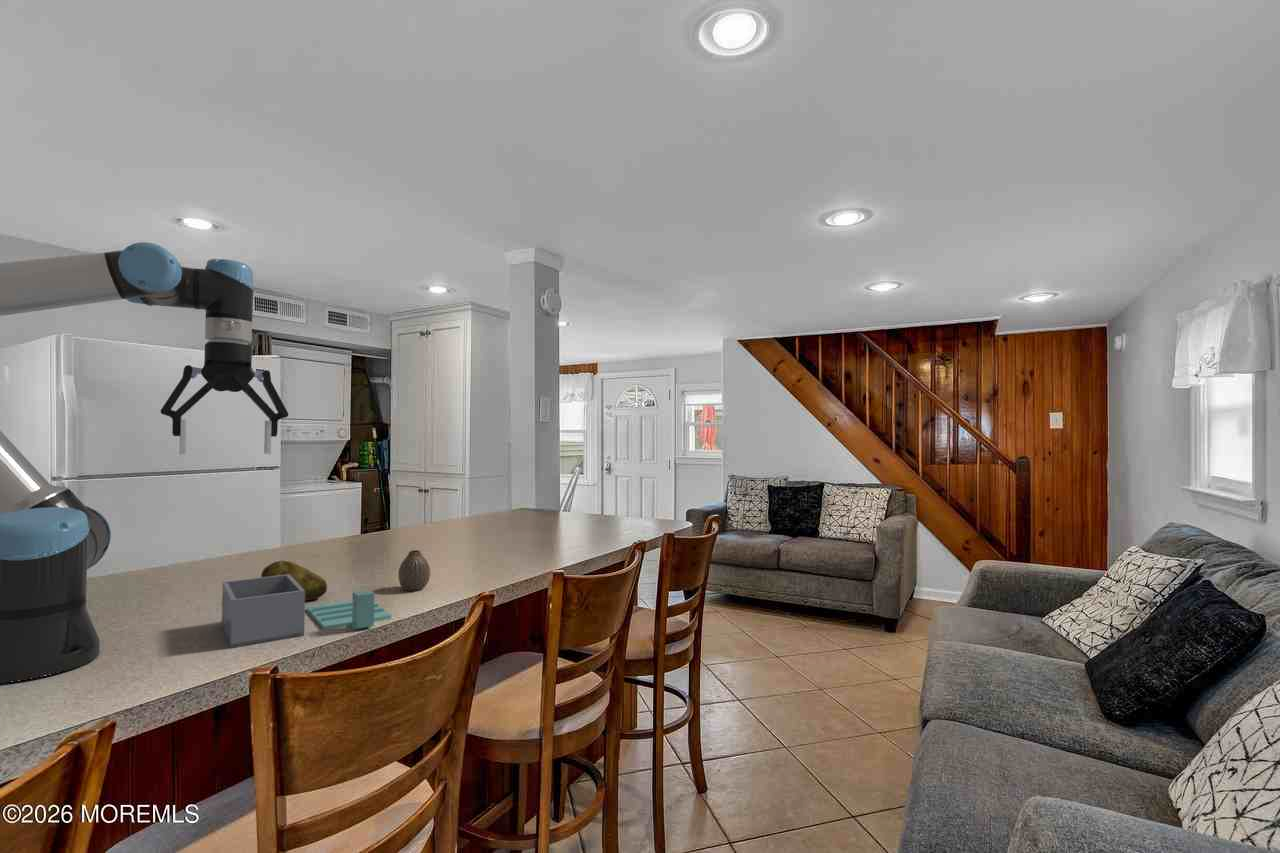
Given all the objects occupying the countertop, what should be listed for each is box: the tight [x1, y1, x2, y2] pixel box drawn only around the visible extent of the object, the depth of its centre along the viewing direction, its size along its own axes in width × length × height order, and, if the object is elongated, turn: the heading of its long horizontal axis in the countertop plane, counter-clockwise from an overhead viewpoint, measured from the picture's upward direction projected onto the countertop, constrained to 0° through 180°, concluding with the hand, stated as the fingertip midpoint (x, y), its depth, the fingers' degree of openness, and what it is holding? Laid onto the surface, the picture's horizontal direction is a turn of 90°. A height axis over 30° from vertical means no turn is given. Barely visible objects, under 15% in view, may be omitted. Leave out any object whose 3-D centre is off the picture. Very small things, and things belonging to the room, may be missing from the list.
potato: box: [260, 560, 328, 602], centre depth 133 cm, size 8×13×8 cm, turn 71°
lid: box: [306, 589, 392, 631], centre depth 122 cm, size 12×20×7 cm, turn 39°
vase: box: [397, 549, 431, 592], centre depth 143 cm, size 7×7×9 cm
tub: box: [221, 574, 306, 648], centre depth 113 cm, size 11×15×8 cm
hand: (226, 454), depth 119 cm, fingers open, 13 cm apart
